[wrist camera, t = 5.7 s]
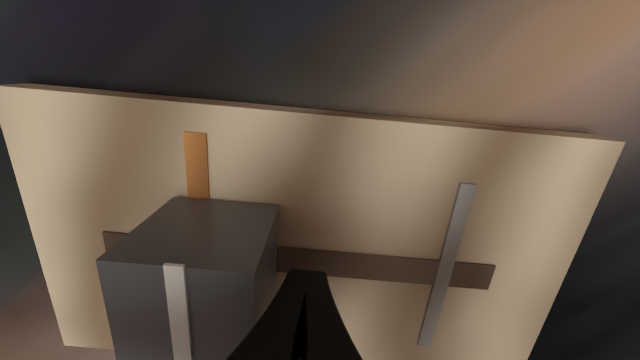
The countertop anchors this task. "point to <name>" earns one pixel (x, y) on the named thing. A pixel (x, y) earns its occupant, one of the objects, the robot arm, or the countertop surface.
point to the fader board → (319, 207)
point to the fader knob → (190, 279)
